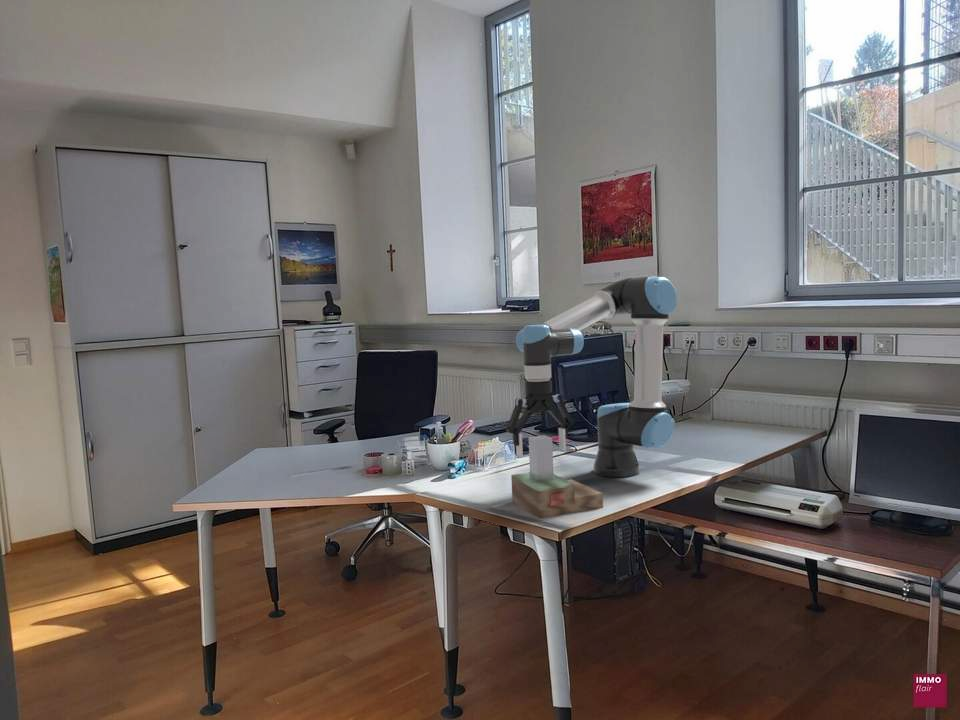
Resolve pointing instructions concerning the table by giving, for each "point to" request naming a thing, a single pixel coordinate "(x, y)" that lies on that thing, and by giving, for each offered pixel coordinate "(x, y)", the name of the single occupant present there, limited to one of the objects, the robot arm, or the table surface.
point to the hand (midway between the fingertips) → (541, 453)
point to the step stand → (553, 495)
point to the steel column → (541, 458)
